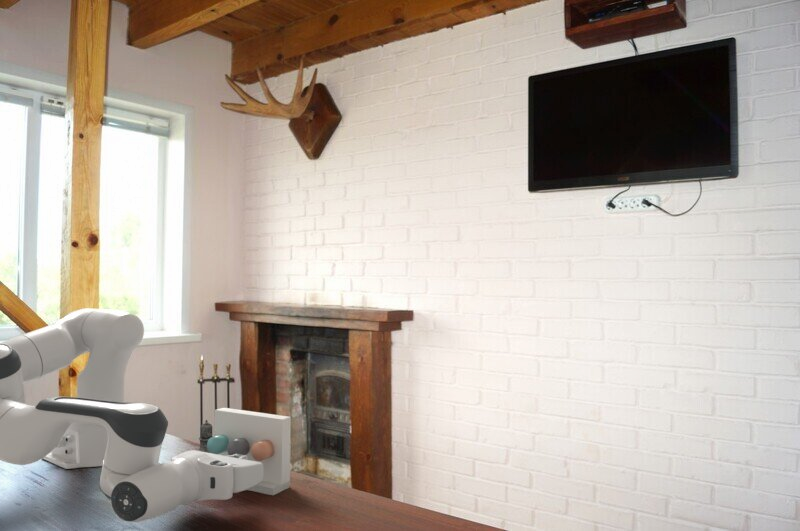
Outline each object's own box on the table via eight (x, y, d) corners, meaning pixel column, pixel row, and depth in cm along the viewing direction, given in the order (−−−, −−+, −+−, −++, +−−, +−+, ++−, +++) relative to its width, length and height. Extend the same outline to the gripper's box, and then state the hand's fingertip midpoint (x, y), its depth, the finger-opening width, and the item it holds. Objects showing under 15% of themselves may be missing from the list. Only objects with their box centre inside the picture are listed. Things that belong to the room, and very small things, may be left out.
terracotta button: (251, 459, 140) (251, 441, 140) (259, 456, 143) (260, 438, 143) (265, 462, 138) (265, 444, 138) (273, 458, 141) (274, 441, 141)
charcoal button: (226, 457, 142) (227, 439, 142) (235, 454, 144) (236, 436, 144) (240, 459, 140) (240, 441, 140) (249, 456, 143) (249, 438, 143)
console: (204, 480, 147) (205, 412, 147) (222, 473, 152) (223, 407, 152) (273, 495, 137) (273, 422, 138) (289, 487, 143) (290, 416, 143)
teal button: (206, 453, 144) (207, 436, 144) (216, 450, 147) (216, 433, 147) (220, 456, 143) (220, 438, 143) (229, 452, 145) (229, 435, 145)
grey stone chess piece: (210, 472, 153) (211, 423, 153) (188, 470, 154) (189, 421, 154) (222, 465, 159) (223, 417, 159) (201, 463, 160) (201, 416, 160)
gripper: (156, 484, 127) (206, 465, 139) (233, 501, 118) (280, 480, 130) (156, 452, 127) (206, 437, 139) (234, 467, 118) (280, 449, 130)
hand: (242, 458), depth 135 cm, fingers closed
